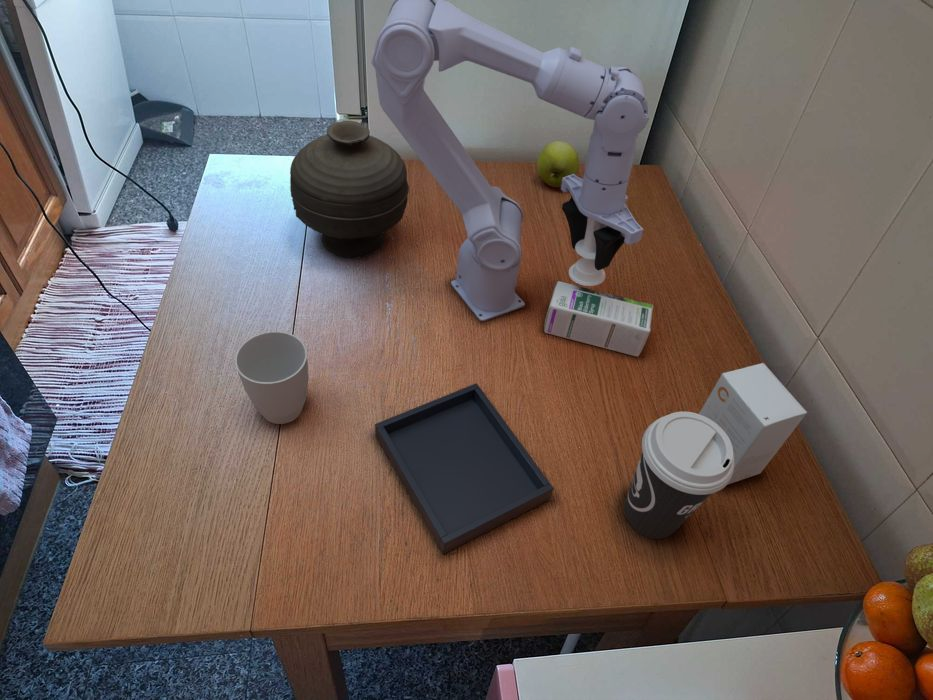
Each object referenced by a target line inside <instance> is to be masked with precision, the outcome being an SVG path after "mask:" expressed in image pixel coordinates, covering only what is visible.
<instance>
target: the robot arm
mask: <svg viewBox="0 0 933 700" xmlns="http://www.w3.org/2000/svg"><path fill="white" fill-rule="evenodd" d="M375 41H376V42H375V46H374V49H373V52H372V57H371V65H372V67H373V69H374V72H375V79H376V86H377V87H376V88H377V94H378V101H379V105H380V107H381V109H382V111H383V112H384V114H385V115H386V116H387V118H388V119H389V120H390V122H391V123H392V124H393V126H394V127H395V128H396V129H397V130H398V132H399V133H400V135H401V136H402V137H403V139H404V140H405V141H406V142H407V144H408V145H409V146H410V148H411V150H413V152H414V153H415V154H416V156H417V157H418V159H419V160H420V161H421V163H422V164H423V165H424V166H425V168H426V169H427V170H428V171H429V173H430V175H431V176H432V177H433V178H434V179H435V181H436V182H437V184H438V185H439V186H440V187H441V189H442V190H443V192H444V193H445V194H446V196H447V197H448V198H449V199H450V200H451V202H452V203H453V205H454V206H455V207H456V208H457V210H458V211H459V212H460V214H461V216H462V220H463V224H464V228H465V232H466V236H467V238H466V239H465V240H464V241H463V243H462V244H461V245H460V247H459V250H458V254H457V257H458V258H457V265H456V275H455V279H453V280H451V281H450V285H451V287H452V288H453V289H454V290H455V292H456V293H457V294H458V295H459V297H460V298H461V299H462V300H463V302H464V303H465V304H466V306H467V307H468V308H469V310H470V311H471V312H472V313H473V314H474V315H475V317H476V318H477V320H478V321H479V322H486V321H488V320H491V319H494V318H497V317H499V316H503V315H505V314H509V313H511V312H513V311H517V310H519V309H521V308H524V307H525V302H524V300H522V298H521V297H520V296H519V295H518V294H517V292H516V287H517V282H518V276H519V270H520V265H521V260H522V256H523V252H522V247H521V245H522V243H521V242H522V225H523V220H524V219H523V218H524V212H523V209H522V207H521V206H520V204H519V203H518V202H517V201H515V200H514V199H513V198H510V197H509V196H507V195H506V194H505V193H504V192H503V190H502V189H501V188H500V187H499V186H494V185H493V186H492V185H491V184H490V183H489V182H488V180H487V179H486V177H485V176H484V174H483V173H482V172H481V170H480V168H479V167H478V165H477V164H476V163H475V161H474V159H472V158H471V156H470V154H469V152H467V150H466V149H465V147H464V145H463V144H462V143H461V141H460V140H459V139H458V137H457V136H456V134H455V133H454V131H453V129H451V127H450V125H449V124H448V123H447V122H446V120H445V118H444V117H443V115H442V114H441V113H440V111H439V110H438V108H437V107H436V106H435V104H434V103H433V101H432V100H431V99H430V97H429V96H428V94H427V93H426V90H425V82H426V78H427V76H428V74H429V72H430V71H431V69H432V67H433V65H434V62H436V61H438V72H444V71H447V70H448V69H451V68H453V67H455V66H457V65H459V64H461V63H463V62H470V63H473V64H475V65H479V66H482V67H485V68H487V69H490V70H493V71H495V72H498V73H501V74H503V75H506V76H510V77H512V78H515V79H519V80H521V81H523V82H527V83H530V84H531V86H532V87H533V89H534V91H535V94H536V97H537V98H538V99H539V100H541V101H544V102H546V103H549V104H551V105H553V106H556V107H558V108H560V109H563V110H565V111H568V112H570V113H573V114H575V115H576V116H577V115H578V116H580V117H582V118H584V119H587V120H592V121H593V127H592V132H591V134H590V137H589V141H588V146H587V147H588V148H587V154H586V159H585V164H584V171H583V177H582V178H581V177H579V176H578V175H574V174H572V175H569V176H566V177H563V178H562V185H561V187H560V191H562V192H563V193H565V194H567V193H569V194H570V198H569V200H567V201H565V202H563V203H562V204H561V210H562V212H563V213H564V215H565V218H566V221H567V225H568V229H569V235H570V242H571V248H572V249H573V250H574V251H576V250H575V245H576V243H577V242H579V241H580V240H583V239H585V233H586V228H587V219H588V217H589V218H591V219H593V220H595V221H598V222H600V223H602V224H604V225H607V227H603V228H601V229H598V230H596V231H594V232H593V234H594V237H595V241H596V256H595V268H596V269H597V270H601V269H603V270H604V269H605V268H608V267H609V266H610V265H611V262H612V261H613V259H614V257H615V256H616V254H617V253H618V251H619V250H620V248H621V247H622V246H623V245H624V244H626V245H627V246H631V245H634V244H636V243H638V242H641V240H642V236H643V233H644V228H643V227H642V226H641V225H640V224H639V223H638V222H637V220H636V218H635V217H634V216H633V214H632V212H631V211H630V209H629V208H628V205H627V202H628V200H629V196H628V195H627V190H628V185H629V181H630V177H631V173H632V169H633V164H634V160H635V155H636V151H637V147H638V137H639V134H640V133H641V132H642V131H643V130H644V129H645V128H646V126H647V125H648V123H649V120H650V117H649V116H648V114H649V106H648V102H647V96H646V91H645V87H644V84H643V82H642V80H641V77H639V76H638V74H637V73H635V72H634V71H632V69H630V68H629V67H628V66H627V67H626V66H618V67H615V66H613V65H612V66H610V67H609V68H607V67H605V66H602V65H600V64H598V63H596V62H594V61H591V60H590V59H587V58H584V57H582V50H581V49H578V48H576V47H574V46H570V48H569V50H567V49H564V48H563V47H555V48H553V49H550V50H548V51H545V52H544V51H543V52H542V51H540V50H538V49H537V48H534V47H533V46H530V45H528V44H526V43H525V42H522V41H520V40H519V39H516V38H515V37H512V36H511V35H508V34H507V33H505V32H502V31H501V30H498V29H497V28H495V27H493V26H490V25H489V24H486V23H485V22H483V21H481V20H479V19H477V18H475V17H473V16H471V15H469V14H468V13H466V12H464V11H463V10H461V9H460V8H458V7H457V6H455V5H454V4H452V3H451V2H449V1H448V0H447V1H446V0H394V1H393V2H392V4H391V5H390V9H389V12H388V15H387V18H386V21H385V23H384V25H383V27H382V29H381V30H380V32H379V33H378V36H377V39H376V40H375Z"/></svg>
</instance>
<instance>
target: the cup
mask: <svg viewBox="0 0 933 700" xmlns="http://www.w3.org/2000/svg"><path fill="white" fill-rule="evenodd" d="M234 364H235V368H236V371H237V373H238V377H239V379H240V382H241V384H242V386H243V389H244V392H245V394H247V396H248V398H249V400H250V401H251V403H252V405H253V406H254V408H255V409H256V411H258V413H259V414H260V415H261V416H263V418H264V419H265V420H266V421H268V422H269V423H272V424H275V425H284V424H288V423H291V422H293V421H295V420H296V419H297V418H298V417H299V416H300V415H301V413H302V411H303V409H304V406H305V403H306V400H307V395H308V387H309V386H308V384H309V363H308V351H307V347H306V345H305V343H304V342H303V341H302V340H301V338H299V337H298V336H296V335H294V334H292V333H290V332H285V331H280V330H279V331H278V330H272V331H265V332H261V333H258V334H255V335H253V336H251V337H249V338H248V339H246V340H245V341H244V342H243V343H242V344H241V345H240V346H239V348H238V349H237V351H236V354H235V356H234Z"/></svg>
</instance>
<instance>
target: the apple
mask: <svg viewBox="0 0 933 700" xmlns="http://www.w3.org/2000/svg"><path fill="white" fill-rule="evenodd" d="M579 169H580V157H579V153H578V152H577V150H576V148H575V147H574V146H572V144H570V143H568V142H566V141H561V140H554V141H551V142H550V143H548V144H547V145H545V146H544V147H543V148H542V149H541V151H540V152H539V155H538V157H537V161H536V171H537V175H538V177H539V178H540V179H541V180H542V181H543V182H544V183H545V184H546V185H548V186H549V187H552V188H561V185H562V178H563V177H566V176H569V175H572V174H574V175H576V176H578V172H579Z"/></svg>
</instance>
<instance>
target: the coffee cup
mask: <svg viewBox="0 0 933 700" xmlns="http://www.w3.org/2000/svg"><path fill="white" fill-rule="evenodd" d="M641 451H642V452H641V454H640V457H639V461H638V463H637V466H636V468H635V472H634V474H633V477H632V480H631V483H630V486H629V488H628V491H627V494H626V497H625V500H624V504H623V513H624V517H625V520H626V521H627V523H628V524H629V525H630V527H631V528H632V529H633V530H634V531H635V532H636V533H638V534H640V535H641V536H643V537H646V538H648V539H652V540H661V539H666V538H668V537H671V536H672V535H673V534H674V533H675V532H676V531H677V530H678V528H679V527H681V526H682V525H683V524H684V523H685V521H687V519H689V517H690V516H691V515H692V514H693V513H694V512H695V511H696V510H697V509H698V508H699V507H700V506H701V505H702V504H703V503H704V502H705V501H706V500H707V499H708V498H709V497H710V496H711V495H712V494H714V493H717V492H720V491H722V490H723V489H724V488H726V487H727V484H728V483H729V481H730V480H731V478H732V475H733V471H734V454H733V447H732V444H731V441H730V439H729V437H728V436H727V434H726V433H725V432H724V430H723V429H722V428H721V427H720V426H719V425H717V424H716V423H715V422H713V421H712V420H710V419H709V418H707V417H705V416H702V415H700V414H699V413H696V412H692V411H676V412H672V413H668V414H667V415H663V416H661V417H660V418H658V419H656V420H654V421H653V422H652V423H651V424H650V425H648V427H646V428H645V431H644V432H643V435H642V439H641ZM728 485H729V484H728Z"/></svg>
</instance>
